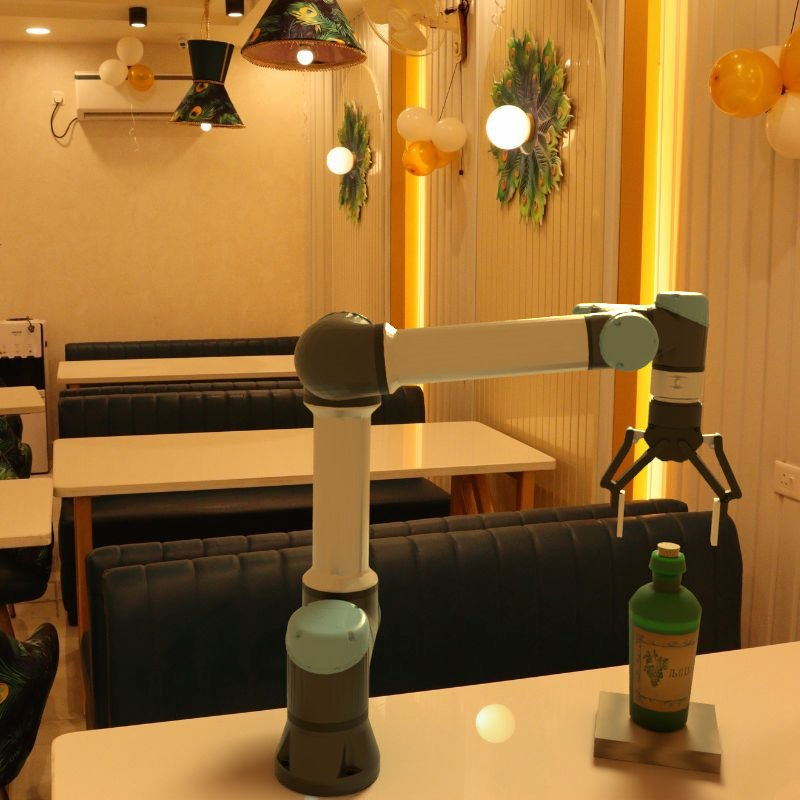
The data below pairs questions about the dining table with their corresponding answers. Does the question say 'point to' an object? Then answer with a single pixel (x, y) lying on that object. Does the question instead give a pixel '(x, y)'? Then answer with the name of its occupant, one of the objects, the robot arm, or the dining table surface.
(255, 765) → the dining table surface
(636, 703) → the bottle
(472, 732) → the dining table surface
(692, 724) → the walnut riser
